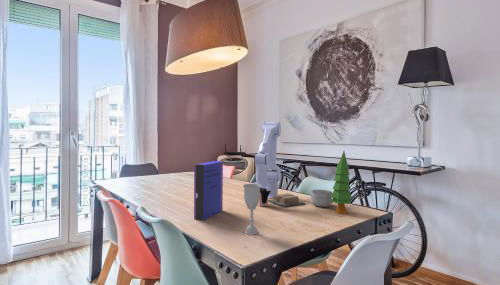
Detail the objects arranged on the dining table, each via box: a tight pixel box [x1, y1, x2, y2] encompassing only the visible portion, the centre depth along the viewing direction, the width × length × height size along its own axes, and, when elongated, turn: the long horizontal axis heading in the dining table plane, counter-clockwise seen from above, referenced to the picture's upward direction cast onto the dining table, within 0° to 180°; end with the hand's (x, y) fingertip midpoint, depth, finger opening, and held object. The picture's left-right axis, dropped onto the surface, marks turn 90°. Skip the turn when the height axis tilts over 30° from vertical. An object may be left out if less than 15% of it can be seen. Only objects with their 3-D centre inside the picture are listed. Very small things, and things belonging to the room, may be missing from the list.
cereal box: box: [193, 160, 224, 221], centre depth 138 cm, size 17×5×24 cm, turn 157°
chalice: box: [242, 183, 261, 236], centre depth 114 cm, size 7×7×18 cm
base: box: [268, 193, 306, 208], centre depth 161 cm, size 14×14×4 cm
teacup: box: [310, 189, 334, 208], centre depth 156 cm, size 14×11×8 cm
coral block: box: [256, 193, 269, 207], centre depth 157 cm, size 5×5×6 cm
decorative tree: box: [331, 151, 352, 215], centre depth 144 cm, size 10×9×30 cm
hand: (261, 202), depth 157 cm, fingers closed on coral block, 5 cm apart
